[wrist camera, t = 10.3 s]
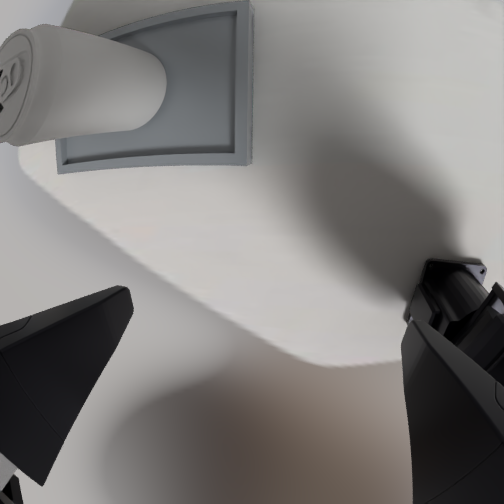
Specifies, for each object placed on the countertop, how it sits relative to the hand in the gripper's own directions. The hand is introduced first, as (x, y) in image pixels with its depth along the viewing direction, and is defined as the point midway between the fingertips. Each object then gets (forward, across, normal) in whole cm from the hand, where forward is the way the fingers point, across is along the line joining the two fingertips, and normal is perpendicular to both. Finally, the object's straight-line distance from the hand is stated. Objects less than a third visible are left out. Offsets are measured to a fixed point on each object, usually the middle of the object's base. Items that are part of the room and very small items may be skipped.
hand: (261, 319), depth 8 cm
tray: (+13, +12, -9) cm, 20 cm away
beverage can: (+12, +12, -9) cm, 19 cm away
